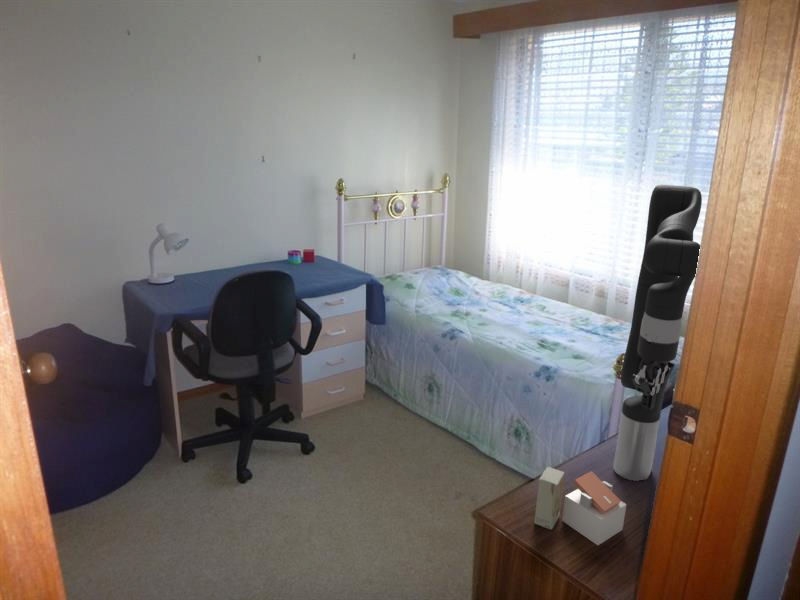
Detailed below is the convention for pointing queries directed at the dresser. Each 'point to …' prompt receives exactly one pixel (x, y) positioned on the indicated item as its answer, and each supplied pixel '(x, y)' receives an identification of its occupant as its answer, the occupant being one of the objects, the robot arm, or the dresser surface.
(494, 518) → the dresser surface
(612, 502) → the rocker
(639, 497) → the dresser surface
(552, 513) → the skincare box
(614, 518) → the switch box
